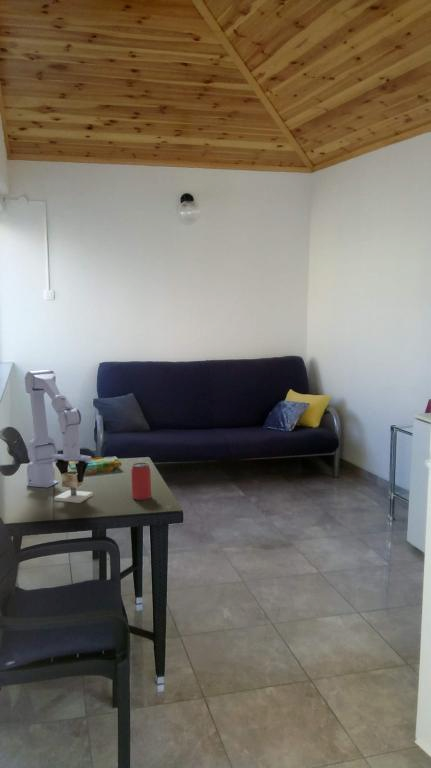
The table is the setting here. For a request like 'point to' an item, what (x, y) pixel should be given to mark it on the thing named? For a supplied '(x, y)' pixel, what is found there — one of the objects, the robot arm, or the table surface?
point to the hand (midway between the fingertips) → (73, 481)
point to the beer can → (141, 481)
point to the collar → (71, 479)
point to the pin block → (73, 496)
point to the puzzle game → (98, 465)
